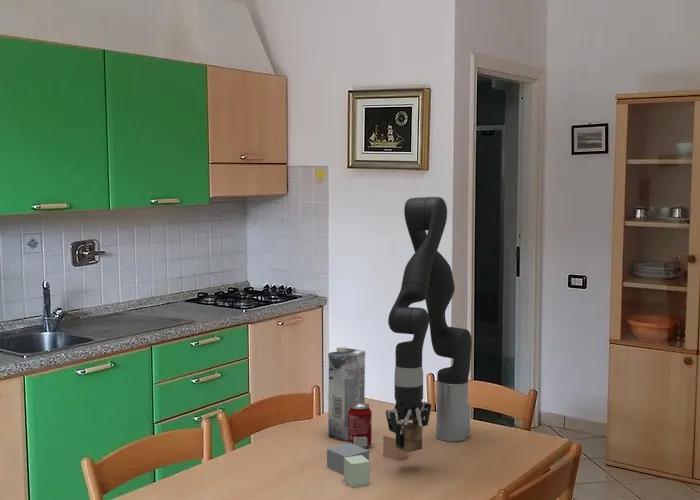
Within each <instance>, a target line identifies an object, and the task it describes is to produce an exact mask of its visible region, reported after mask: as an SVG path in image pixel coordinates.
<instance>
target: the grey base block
mask: <svg viewBox="0 0 700 500" xmlns="http://www.w3.org/2000/svg"><path fill="white" fill-rule="evenodd" d="M359 455H362V456H364V457H365V458H366V459H367V460H369V461H370V449H367V448H365V449H364V448H362V447H359V446H357V445H354V444H352V443H348V442H347V443H343V444H340V445H337V446H333V447H330V448H329V447H328V448H327V449H326V467H328V468H330V469H332V470H334V471H335V472H336V471H337V472H339V473H341V474H343V475H344V458H345V457H352V456H359Z"/></svg>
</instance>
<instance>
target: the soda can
mask: <svg viewBox="0 0 700 500" xmlns="http://www.w3.org/2000/svg"><path fill="white" fill-rule="evenodd" d="M350 407H351V408H350V409H349V411H348V441H347V443H352V444H354V445H357V446H359V447H362V448H364V449H367V448H369V447H370V446H371V445H372V418H373V417H372V415H373V413H372V410H371V408H370V404H368V403H365V402H364V403H354V404H351V405H350Z"/></svg>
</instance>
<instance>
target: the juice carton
mask: <svg viewBox="0 0 700 500" xmlns="http://www.w3.org/2000/svg"><path fill="white" fill-rule="evenodd" d="M327 353H328V352H327ZM327 356H328V393H327V394H328V397H327V398H328V399H327V400H328V403H327V404H328V406H327V408H328V417H327V419H328V420H327V423H328V426H327V427H328V430H327V431H328V437H330V438H332V439H338V440H342V441H345V442H348V411H349V409H350V408H351V407H350V405H351V404H354V403H365V401H366V400H365V394H366V393H365V391H366V390H365V387H366V380H365V378H366V377H365V376H366V351H365V350H361V349H355V348H348V347H347V346H346V345H339V346H336V351H331V352H329V353H328V354H327Z"/></svg>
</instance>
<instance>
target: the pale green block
mask: <svg viewBox="0 0 700 500" xmlns="http://www.w3.org/2000/svg"><path fill="white" fill-rule="evenodd" d="M370 478H371V461H370V459H369V460H367V459H366V458H365V457H364V456H362V455H359V456H352V457H345V458H344V474H343V481H344V482H345V483H346V484H348V485H349V486H350V487H351V488H355V487H362V486H369V485H370V483H371V482H370V481H371V479H370Z"/></svg>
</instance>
